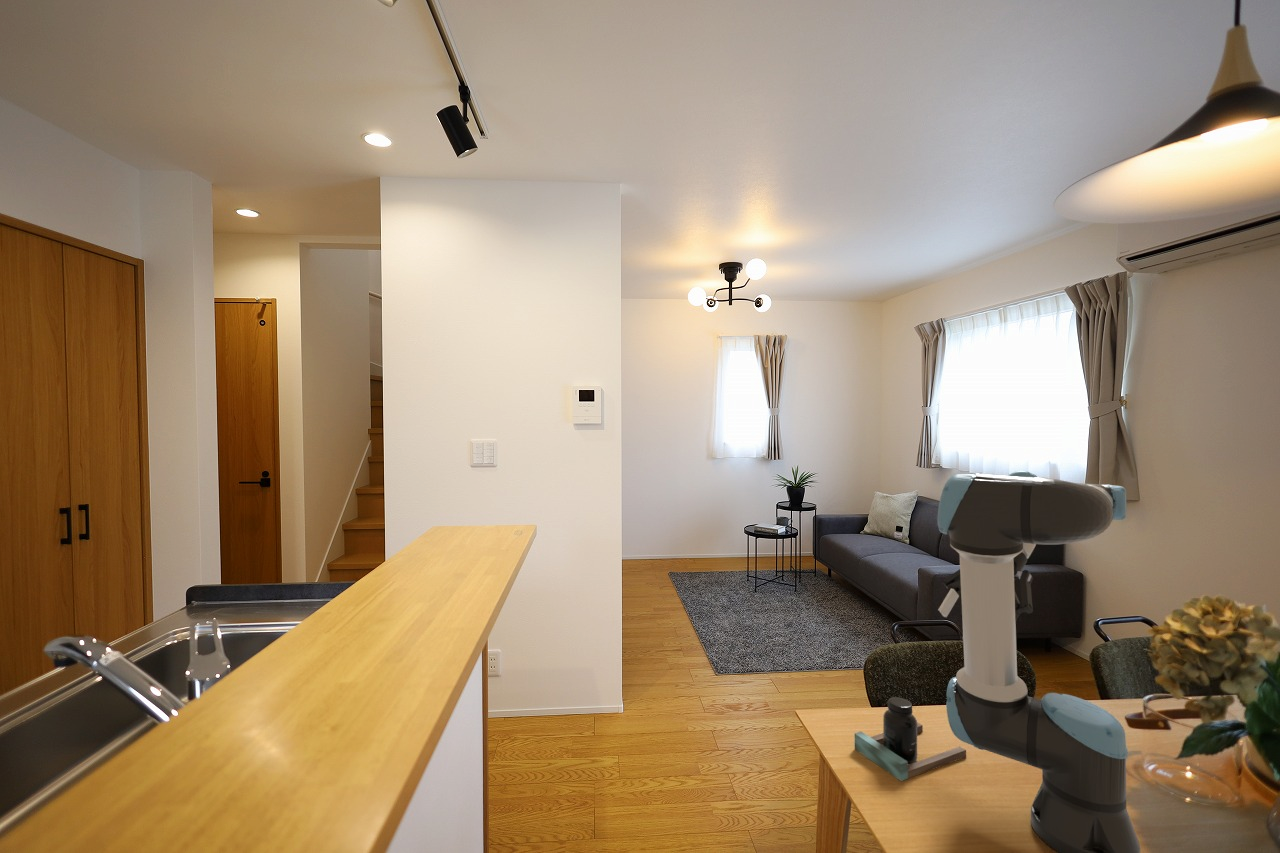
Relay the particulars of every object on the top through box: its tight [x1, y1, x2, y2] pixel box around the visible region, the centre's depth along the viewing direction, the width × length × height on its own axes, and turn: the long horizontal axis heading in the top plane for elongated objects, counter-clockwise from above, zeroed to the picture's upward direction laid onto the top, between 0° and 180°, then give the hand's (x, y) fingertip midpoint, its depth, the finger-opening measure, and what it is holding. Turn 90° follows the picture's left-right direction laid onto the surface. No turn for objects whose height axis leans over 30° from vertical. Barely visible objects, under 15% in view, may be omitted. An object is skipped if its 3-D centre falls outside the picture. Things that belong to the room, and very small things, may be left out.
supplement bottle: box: [882, 696, 918, 765], centre depth 123 cm, size 7×7×12 cm
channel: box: [854, 721, 967, 782], centre depth 124 cm, size 12×20×4 cm, turn 114°
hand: (968, 623), depth 127 cm, fingers open, 13 cm apart
